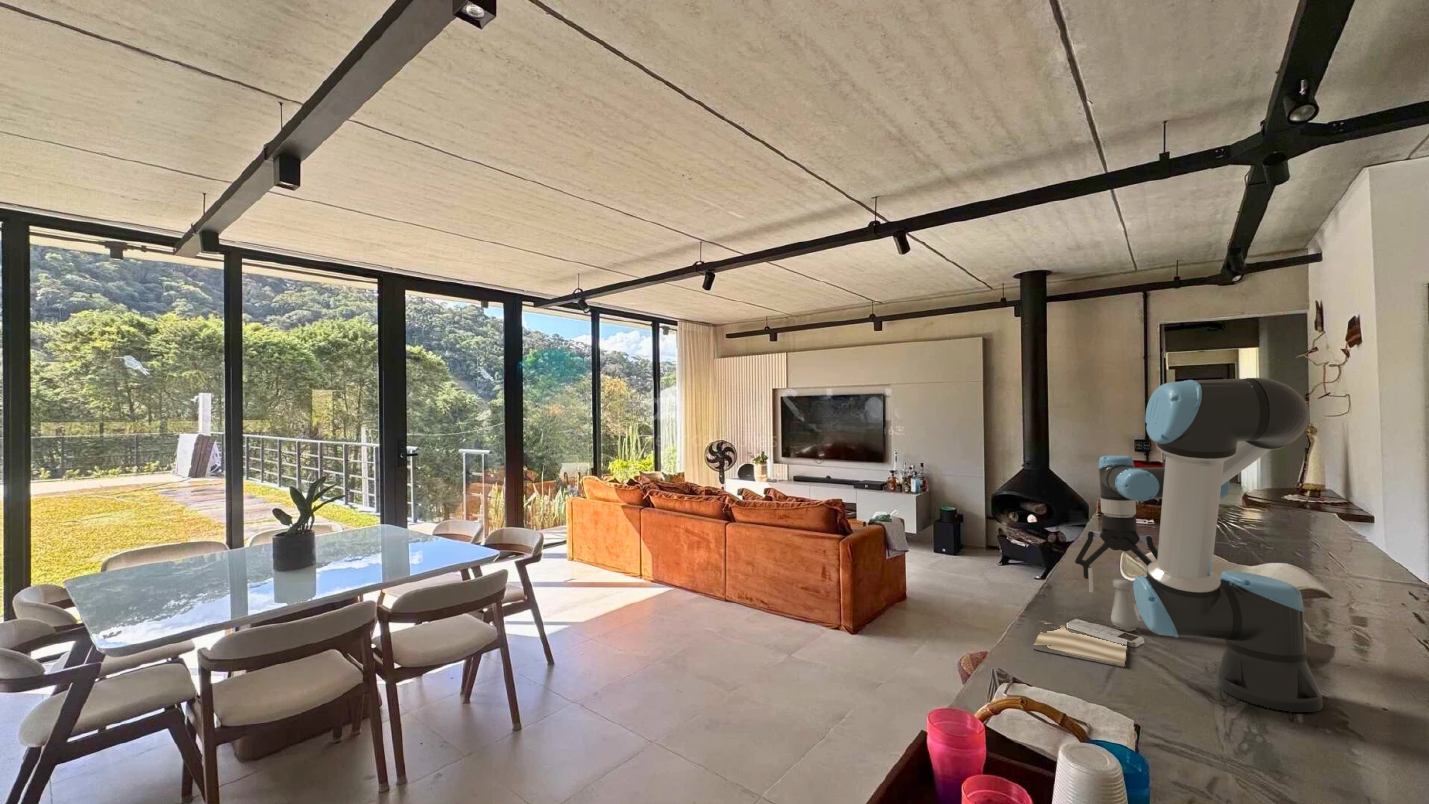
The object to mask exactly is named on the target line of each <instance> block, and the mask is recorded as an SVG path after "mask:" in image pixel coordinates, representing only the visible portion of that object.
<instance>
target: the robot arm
mask: <svg viewBox="0 0 1429 804" xmlns="http://www.w3.org/2000/svg"><path fill="white" fill-rule="evenodd" d="M1144 418H1145V421H1144V422H1145V424H1146V427H1145V429H1146V433H1147V435H1148V437H1149V439H1151V440H1152V441H1153V442H1154V443H1156V448H1157V449H1158V450H1159V451H1160V452H1161V453H1162V454H1164V455H1165V462H1164V463H1165V464H1164V467H1135V464H1134V458H1132V457H1131V456H1129V455H1103V456H1101V457H1099V460H1098V473H1099V475H1098V476H1099V493H1100V497H1099V498H1100V512H1101V513H1102V514H1101V516H1100V517H1101V531H1100V532H1099V531H1094V530H1093V529H1089V531H1087V539H1086V541H1085V543H1084V544H1083V546H1082V548H1081V549H1080V551H1079V552H1078V554H1077V556H1076V558H1075V559H1074V563H1075V564H1077V565H1080V566H1081V567H1082V568H1083V569H1082V570H1083V578H1084V579H1086V580H1088V591H1089V593H1091V594H1092V593H1093V592H1094V575H1093V565H1092V564H1093V562H1095V561H1096V560H1097V559H1098V558H1099V557H1100V556H1101V555H1102V554H1103V553H1105V552H1106V551H1107V550H1108V549H1110V550H1112V551H1122V552H1129V551H1131V552H1132V553H1133V554H1134V555H1136V556H1137V557H1138V558H1139V559H1140V560H1141V561H1142V562H1143V563H1144V564H1145V565H1146V567H1147V569H1146V570H1147V571H1146V576H1145V575H1143V574H1142V575H1140V576H1138V575H1137V576H1136V577H1135V578H1134V579H1133V582H1132V589H1133V593H1134V594H1133V595H1134V599H1135V604H1136V606H1137V609H1138V612H1139V614H1140V616H1141V619H1142V621H1143V623H1144V624H1145V626H1146V627H1147V628H1148V630H1149V631H1150V632H1152V633H1154V634H1156V635H1159V636H1167V637H1168V636H1170V637H1174V638H1177V639H1178V638H1179V637H1180V638H1194V639H1208V640H1210V639H1211V640H1222V641H1223V640H1224V641H1225V650H1224V652H1223V654H1222V657H1221V659H1220V662H1219V665H1218V667H1217V668H1216V669H1217V670H1216V685H1217V686H1219V687H1220V688H1221V689H1222V690H1221V689H1220V688H1219V687H1218V688H1219V689H1220V690H1221V691H1223V692H1224V691H1225V692H1224V693H1226V694H1227V693H1228V694H1227V695H1229V696H1231V695H1232V696H1231V697H1233V696H1234V697H1233V698H1235V697H1236V698H1235V699H1237V698H1238V700H1240V699H1241V700H1240V701H1242V700H1244V701H1243V702H1245V701H1247V702H1246V703H1248V702H1249V703H1248V704H1251V703H1252V704H1251V705H1255V704H1256V705H1255V706H1257V705H1262V706H1264V707H1263V708H1265V707H1268V708H1267V709H1269V708H1273V709H1277V710H1276V711H1278V710H1283V711H1282V712H1284V711H1289V712H1288V713H1292V712H1309V713H1308V714H1311V713H1310V712H1313V713H1317V712H1319V711H1321V710H1322V709H1323V708H1324V707H1323V706H1324V704H1323V694H1322V692H1321V690H1320V688H1319V685H1318V684H1317V682H1316V679H1315V677H1314V675H1313V673H1312V670H1311V669H1310V666H1309V664H1308V662H1307V643H1306V642H1307V641H1306V628H1305V627H1306V625H1305V614H1304V613H1305V612H1306V609H1305V607H1304V601H1303V596H1302V593H1301V591H1300V589H1298V588H1297V587H1296V586H1294V585H1293V584H1291V583H1289V582H1286V581H1283V580H1280V579H1278V578H1272V577H1269V576H1265V575H1262V574H1256V573H1251V572H1247V571H1246V572H1245V571H1239V570H1224V571H1222V572H1221V574H1220V576H1218V575H1217V573H1215V572H1214V571H1213V563H1214V553H1215V543H1216V536H1217V525H1218V518H1219V517H1218V516H1219V508H1220V501H1221V500H1220V499H1224V498H1226V497H1227V495H1228V494H1229V491H1230V488H1231V483H1230V480H1231V479H1233V478H1234V477H1235V476H1237V475H1239V474H1240V473H1241V472H1242V471H1244V470H1246V469H1247V468H1248V467H1250V466H1251V465H1252V464H1253V463H1255V462H1256V461H1257V460H1259V459H1260V458H1262V457H1263V456H1265V455H1266V454H1267V453H1268V452H1270V451H1272V450H1274V451H1275V450H1279V449H1283V448H1285V447H1288V446H1289V445H1291V444H1292V443H1293V442H1295V441H1296V440H1297V439H1298V438H1299V437H1300V436H1301V435H1303V433H1304V432H1305V430H1306V429H1307V427H1308V425H1309V421H1310V409H1309V406H1308V403H1307V402H1306V401H1305V399H1304V398H1303V396H1302V395H1301V394H1300V393H1299V392H1297V390H1295V389H1293V387H1291V386H1289V385H1287V384H1285V383H1283V382H1281V381H1277V380H1274V379H1271V378H1265V377H1246V378H1230V379H1229V378H1225V379H1196V380H1193V379H1187V380H1181V381H1173V382H1172V381H1171V382H1166V383H1164V384H1163V383H1162V384H1161V385H1160V386H1158V387H1157V388H1156V389H1155V390H1154V391H1153V392H1152V394H1151V395H1150V398H1149V399H1148V403H1147V406H1146V410H1145V417H1144ZM1153 499H1155V500H1156V499H1157V500H1160V499H1161V509H1160V510H1161V512H1160V523H1159V533H1158V534H1159V535H1158V547H1156V545H1155V544H1154V540H1153V535H1151V534H1147V535H1140V534H1138V527H1137V525H1138V523H1137V517H1136V516H1135V515H1136V514H1137V509H1136V508H1137V507H1136V505H1137V504H1136V502H1145V501H1149V500H1153ZM1099 537H1100V539H1101V540H1102V541H1103V543H1102V544H1101V545H1100V546H1099V547H1098V548H1097V549H1096V550H1095V551H1093V553H1092V554H1091V555H1089V557H1088V558H1086V559H1085V560H1084V557H1085V555H1086V554H1087V551H1088V550H1089V549H1090V547H1091V545H1092V543H1093V542H1094V541H1095V540H1097V539H1098V538H1099ZM1141 541H1142V543H1143V544H1145V545H1147V547H1148V549H1149V551H1150V552H1151V553H1152V555H1153V557H1154V559H1155V560H1153V561H1152V560H1151V559H1150V557H1149V556H1148V555H1146V554H1145V553H1144V552H1143V551H1142V550H1141V549H1140V548H1139V546H1138V545H1137V544H1138V543H1139V542H1141ZM1273 709H1272V710H1273ZM1316 711H1317V712H1316Z"/></svg>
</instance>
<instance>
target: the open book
mask: <svg viewBox="0 0 1429 804" xmlns="http://www.w3.org/2000/svg"><path fill="white" fill-rule="evenodd" d="M1044 624H1052V623H1050V622H1044V623H1043V625H1044ZM1059 625H1060V627H1061V628H1060V629H1057V630H1054V631H1047V633H1043V632H1039V633H1040V634H1038V635H1037V637H1036V639H1035V642H1034V643H1033V645H1047V647H1048V648H1050V649H1054V650H1058V651H1062V652H1065V653H1068V654H1072V655H1077V656H1082V657H1087V658H1091V659H1096V660H1101V661H1106V662H1110V663H1115V664H1119V665H1125V661H1126V662H1127V656H1126V650H1127V651H1128V648H1127V646H1122V645H1123V644H1122V645H1121V644H1117V643H1113V642H1110V641H1106V640H1102V639H1098V638H1094V637H1090V636H1087V635H1082V634H1076V633H1071V632H1069V631H1067V630H1066V628H1065V626H1066V625H1062V624H1059ZM1049 645H1051V646H1049ZM1125 666H1126V665H1125Z"/></svg>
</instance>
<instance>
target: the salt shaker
mask: <svg viewBox="0 0 1429 804" xmlns="http://www.w3.org/2000/svg"><path fill="white" fill-rule="evenodd" d="M1112 587H1113V588H1115V590H1114V595H1113V596H1114V597H1113V603H1112V608H1111V614H1110V621H1111V623H1112V626H1114V625H1115V626H1117V627H1120V628H1128V629H1135V630H1136V629H1137V627H1138V624H1139V620H1138V616H1137V613H1136V609H1135V605H1134V602H1133V597H1132V594H1131V591H1130V590H1132V589H1133V582H1132V581H1131V579H1128V578H1126V577H1125V578H1123V577H1115V578H1113V579H1112Z"/></svg>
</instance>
